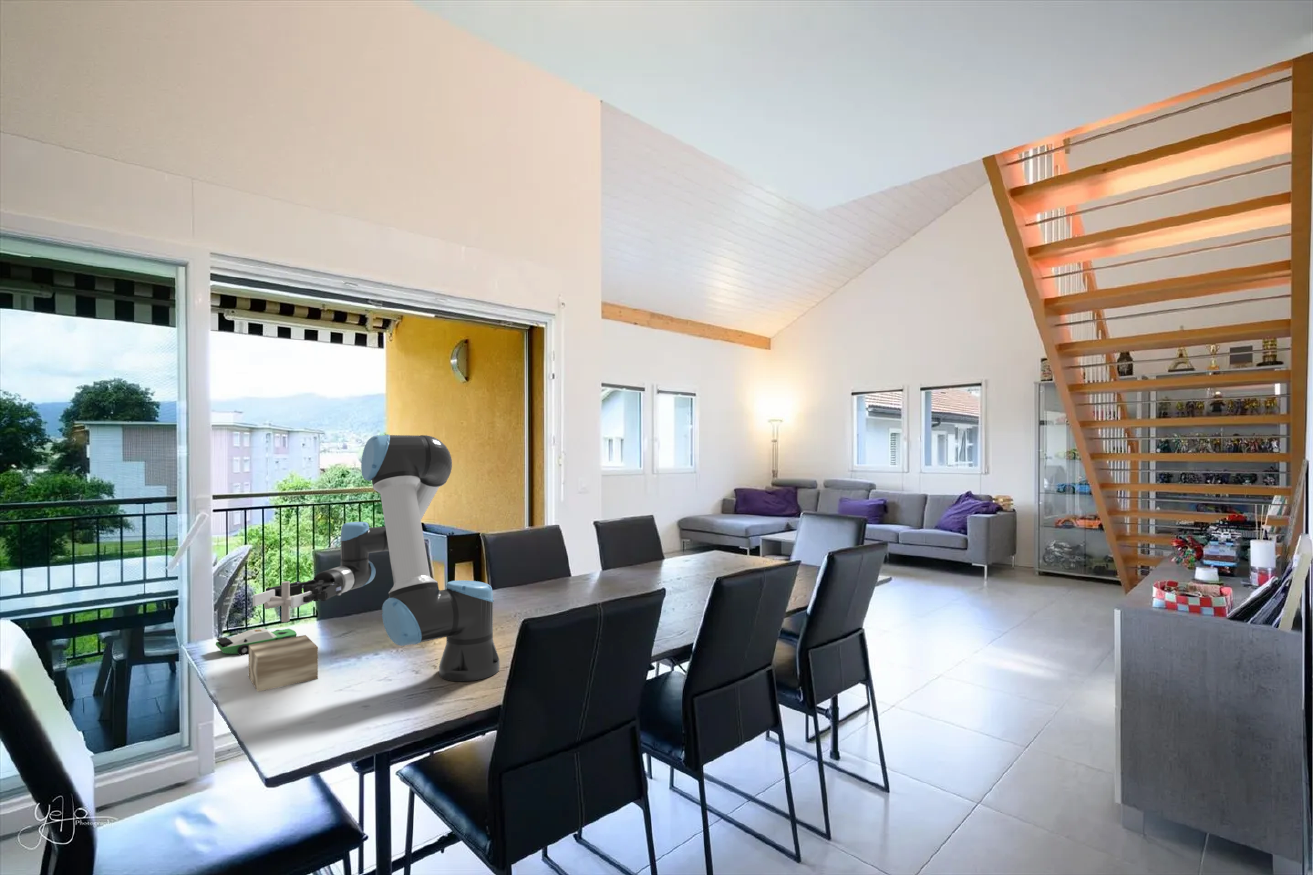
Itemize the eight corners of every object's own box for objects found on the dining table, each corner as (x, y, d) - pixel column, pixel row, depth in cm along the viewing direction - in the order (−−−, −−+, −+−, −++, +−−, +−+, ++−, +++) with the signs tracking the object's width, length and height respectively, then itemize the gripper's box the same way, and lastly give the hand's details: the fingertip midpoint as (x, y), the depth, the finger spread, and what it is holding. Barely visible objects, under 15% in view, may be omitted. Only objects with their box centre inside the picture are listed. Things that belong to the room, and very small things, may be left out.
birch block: (317, 678, 162) (317, 646, 162) (257, 691, 154) (257, 658, 154) (305, 664, 172) (305, 634, 172) (248, 676, 163) (248, 644, 163)
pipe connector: (253, 623, 162) (253, 583, 162) (291, 614, 171) (291, 576, 171) (279, 628, 158) (279, 587, 158) (316, 618, 167) (316, 580, 167)
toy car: (300, 644, 190) (300, 627, 190) (222, 660, 176) (222, 642, 176) (289, 636, 197) (289, 620, 197) (214, 651, 184) (214, 633, 184)
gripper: (369, 597, 180) (313, 619, 158) (297, 593, 184) (233, 614, 162) (369, 570, 180) (313, 588, 158) (297, 567, 184) (233, 584, 162)
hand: (273, 601), depth 160 cm, fingers closed on pipe connector, 10 cm apart
